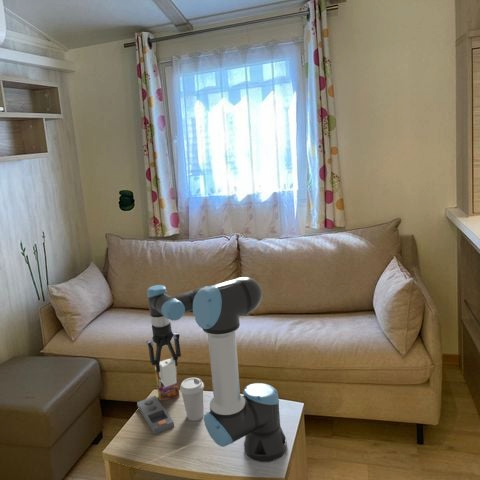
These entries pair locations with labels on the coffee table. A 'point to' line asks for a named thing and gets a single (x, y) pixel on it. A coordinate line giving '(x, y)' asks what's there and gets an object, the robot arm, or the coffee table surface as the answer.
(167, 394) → the candy box
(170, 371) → the block
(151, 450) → the coffee table surface
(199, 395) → the coffee cup
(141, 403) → the power strip
